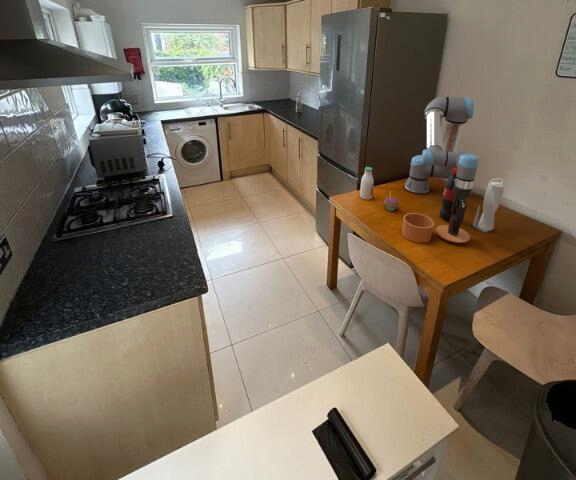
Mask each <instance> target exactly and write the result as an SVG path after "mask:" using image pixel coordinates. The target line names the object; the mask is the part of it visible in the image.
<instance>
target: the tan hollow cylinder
mask: <svg viewBox="0 0 576 480" xmlns="http://www.w3.org/2000/svg"><path fill="white" fill-rule="evenodd" d="M434 226H435V221H434V220H433V219H432V218H431V217H429V216H428V215H426V214H423V213H417V212H409V213H406V214H404V216H403V219H402V225H401V235H402V236H403V237H404V238H405V239H407V240H409V241H411V242H413V243H418V244H424V243H425V244H426V243H429V242H430V241H432V237H433V233H434Z"/></svg>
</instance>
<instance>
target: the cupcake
mask: <svg viewBox="0 0 576 480" xmlns="http://www.w3.org/2000/svg"><path fill="white" fill-rule="evenodd" d="M383 203H384V204H385V207H386V210H387V211H391V212H394V211H396V209H397V207H399V206H400V201H399V199H398V198H396V197H394V196H392V192H391V191H389V196H388V197H385V198H384V200H383Z"/></svg>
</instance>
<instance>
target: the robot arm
mask: <svg viewBox="0 0 576 480" xmlns="http://www.w3.org/2000/svg"><path fill="white" fill-rule="evenodd" d="M474 106H475V105H474V100H473V98H471V97H465V96H462V97H461V96H443V95H442V96H438V97H436V98H434V99H432V100H431V101H430V102H429V103H428V104H427V106H426V107H425V109H424V119H425V121H426V123H425V124H426V129H425V130H426V131H425V133H426V135H425V136H426V137H425V139H426V141H425V142H426V145H425V146H426V147H425V148H426V149H423V150H422V153H421V154H419V155H415V156H413V157H412V158H411V162H410V168H409V175H408V178H407V180H406V181H405V184H404V189H405V190H406V191H407V192H409V193H412V194H416V195H424V194H428V193H429V192H430V184H429V178H438V179H444V180H446V179H447V180H448V179H449V178H450V177H451V176H452V174H453V173H452V171H453V168H457V174H456V179H454V181H455V185H454V188H453V194H454V200H453V205H452V209H451V211H452V214H453V215H456V216H455V220H453V221H454V223H453V227H452V232H453V233H458V231H459V227H460V228H461V225H460V223H461V224H463V220H464V217H465V212H466V208H467V204H466V203H467V199H466V198H470V197H471V196H472V191H473V187H474V185H475V184H474V183H475V178H476V174H477V170H478V167H479V160H480V159H479V157H478V156H477V155H475V154H470V153H468V152H467V151H464V150H457V149H458V147H459V142H460V139H461V134H462V131H463V127H464V125H465V124H467V123H468V120H472V118H473V117H474V111H475V110H474ZM443 118H444V121H445V122H446V125H445V128H444V133H443V121H442V119H443Z"/></svg>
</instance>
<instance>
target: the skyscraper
mask: <svg viewBox="0 0 576 480" xmlns="http://www.w3.org/2000/svg"><path fill="white" fill-rule="evenodd" d="M494 180H501V182H499V181H494ZM504 182H505V179H504V178H501V177H499V178H497V177H496V178H493V179H491V180H490V181H488V185H487V187H486V189H485V193H484V197H483V204H482V214H481V216H480V209H481V205H480V204H479V205H478V208H477V210H476V212H475V216H474V219H473V223H472V224H471V227H473V228H474V229H476V230H478V231H480V232H482V233H488V232H491V231H492V232H493V231H494V228H495V213H496V212H497V211H498V209H499V207H500V205H501V203H502V201H503V197H504V190H505V186H504V185H503V183H504ZM479 216H480V217H479Z"/></svg>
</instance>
